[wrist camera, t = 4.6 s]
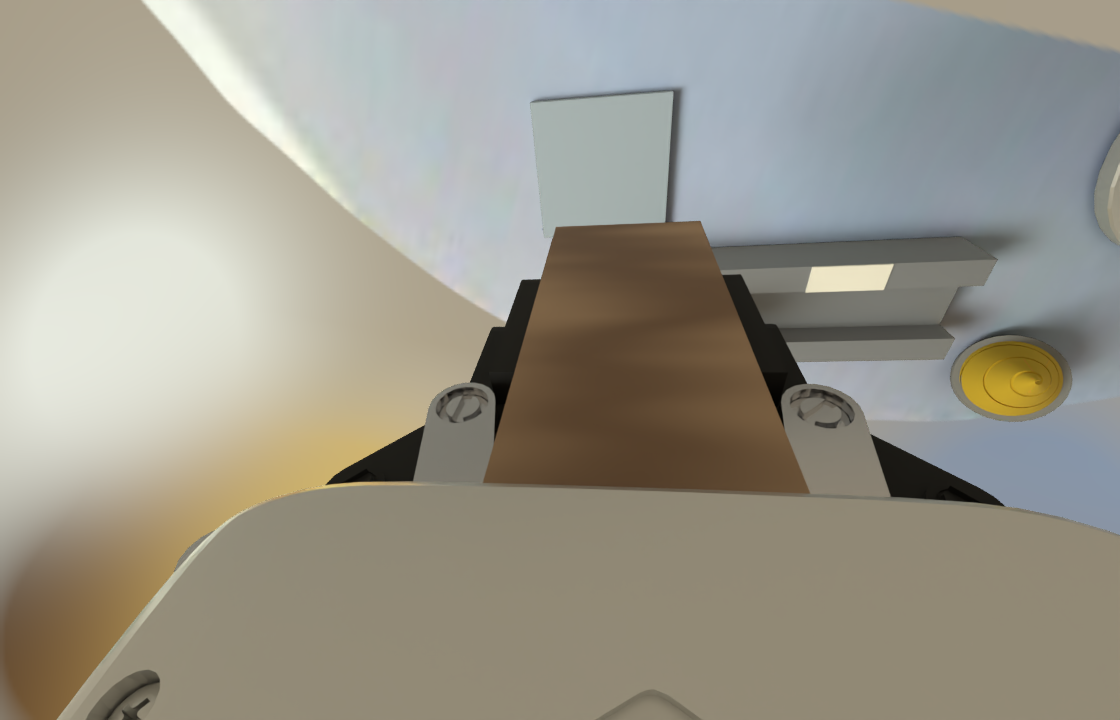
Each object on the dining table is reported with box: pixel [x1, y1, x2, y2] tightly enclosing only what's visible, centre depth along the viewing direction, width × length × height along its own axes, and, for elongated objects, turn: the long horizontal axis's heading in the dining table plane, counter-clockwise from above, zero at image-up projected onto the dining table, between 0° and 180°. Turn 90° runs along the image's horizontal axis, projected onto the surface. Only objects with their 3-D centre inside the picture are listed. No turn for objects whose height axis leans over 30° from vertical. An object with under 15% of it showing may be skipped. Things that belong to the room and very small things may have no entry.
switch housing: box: [711, 237, 998, 362], centre depth 27 cm, size 18×6×3 cm, turn 94°
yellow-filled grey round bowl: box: [950, 335, 1072, 422], centre depth 27 cm, size 5×5×10 cm
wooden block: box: [483, 221, 810, 494], centre depth 10 cm, size 4×4×10 cm
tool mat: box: [530, 90, 673, 238], centre depth 24 cm, size 7×7×1 cm
